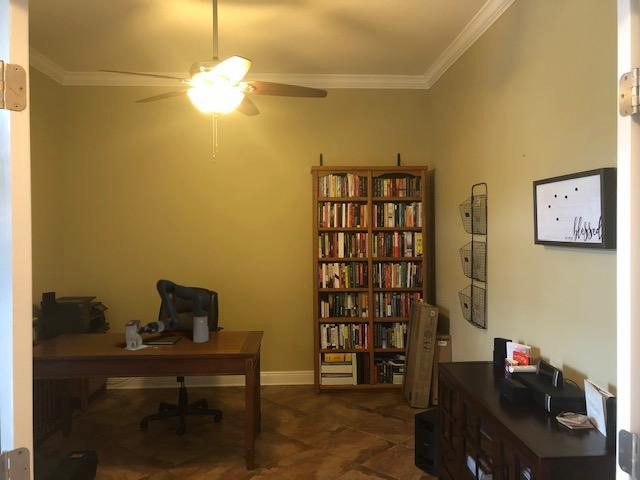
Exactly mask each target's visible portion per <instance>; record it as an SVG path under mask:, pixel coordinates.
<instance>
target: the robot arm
mask: <svg viewBox="0 0 640 480" xmlns="http://www.w3.org/2000/svg"><path fill="white" fill-rule="evenodd" d="M155 285H156V289H157V290H156V291H157V292H158V295H159V297H160V298H161V299H160V300H161V301H162V304H163V306H164V310H165V313H166V316H167V317H168V318H171V319H169V320H167V319H163V320H157V321H152V322H147V324H146V325H141V330H139V334H142V335H143V334H148V335H153V334H157V333H160V332H165V331H174V330H176V329H177V328H178V327H179V326H180V325H181V324H182V319H181V317H180V316H181V315H179V313H178V312H177V308H176V305H175V303H174V301H173V300H172V299H171V297H170V296H169V295H168V294H173V295H174V297H176V298H178V299H180V300H184V301H191V308H192V315H193V343H197V344H199V343H200V344H201V343H205V342H208V341H209V326H208V312H207V311H206V310H203V307H205V306H207V305H210V303H211V296H210V295H209V293H208V292H204V291H199V290H195V289H194V288H192V287H191V288H190V287H188V286H186V285H182V284H177V283H176V282H173V281H171V280H168V279H162V278H161V279H159V280H158V281H157V283H156V284H155Z"/></svg>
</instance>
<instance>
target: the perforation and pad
mask: <svg viewBox="0 0 640 480" xmlns="http://www.w3.org/2000/svg"><path fill="white" fill-rule="evenodd" d="M149 347H151V346H150V345H146V344H141V345H140V346H139V347H138V348H137V349H127V346H126V347H124V350H128V351H137V350H141V349H144V348H149ZM154 348H156V349H158V346H157V347H156V346H155V347H154Z"/></svg>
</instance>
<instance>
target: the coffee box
mask: <svg viewBox="0 0 640 480" xmlns="http://www.w3.org/2000/svg"><path fill="white" fill-rule="evenodd" d="M141 326H142V324H141V320H140V319H130V320H129V321H128V322H127V323H126V324H125V326H124V328H125V338H126V339H125V340H126V347H127V349H126V350H128V349H137V348H138V347H139V346H140V345H143V336H142V335H143V333H142V334H139V330H141ZM137 350H138V349H137Z"/></svg>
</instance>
